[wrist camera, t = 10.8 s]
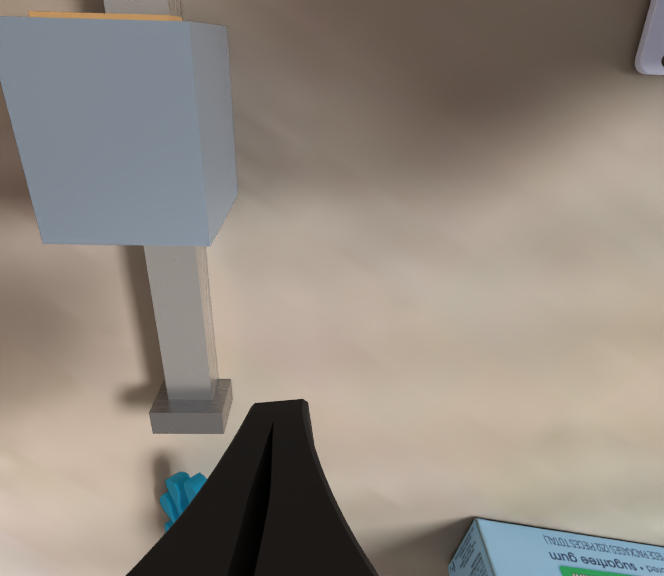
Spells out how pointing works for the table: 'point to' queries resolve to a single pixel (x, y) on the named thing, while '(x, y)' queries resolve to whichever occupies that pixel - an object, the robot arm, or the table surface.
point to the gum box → (549, 553)
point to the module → (121, 125)
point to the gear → (180, 494)
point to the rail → (182, 315)
